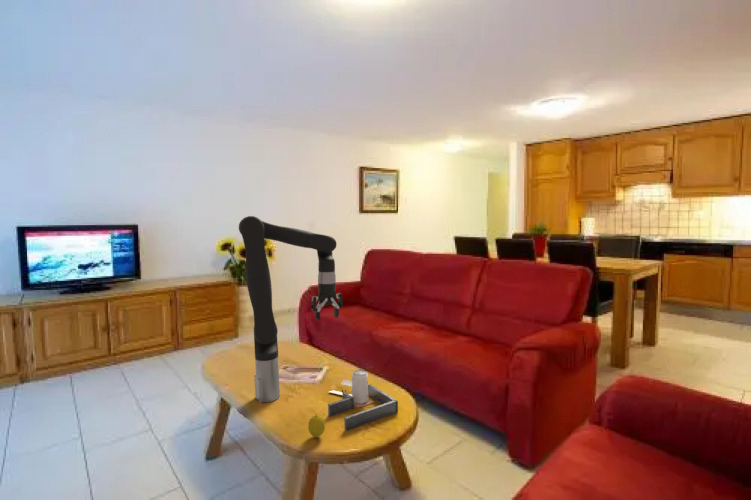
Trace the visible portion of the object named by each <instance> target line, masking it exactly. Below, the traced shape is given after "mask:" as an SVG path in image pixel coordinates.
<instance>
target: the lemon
mask: <svg viewBox="0 0 751 500" xmlns="http://www.w3.org/2000/svg"><path fill="white" fill-rule="evenodd" d="M325 425H326V424H325V419H324V417H323V416H321V415H320V414H314V415H312V416H311V418H310V419H309V421H308V427H307V428H308V431H309V434H310V435H311V436H312V437H315V438H318V437H321V436H322V435H323V434H324V432H325V428H326V426H325Z"/></svg>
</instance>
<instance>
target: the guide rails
mask: <svg viewBox="0 0 751 500" xmlns="http://www.w3.org/2000/svg"><path fill="white" fill-rule="evenodd" d="M349 394H350V393H348V392H347V391H346V392H345V391H343V395H342V399H341V400H337V401H334V402H331V403H330V402H329V403H327V409H328V410H327V411H328V417H329V418H332V417H334V416H337V415H340V414H343V413H346V412H349V411H351V410H354V409H355V406H354V398H353V397H352V396H350V395H349ZM368 397H369V398H371V399H372V400H373V399H374V400H375V401H376V400H377V402H378V403H379V402H380V403H379V404H380V405H376V406H374V407H371V408H368V409H365V410H362V411H359V412H357V413H354V414H351V415H347V416H345V417H344V418H343V419H344V431H345V432H348V431H350V430H351V431H352V430H354V429H356V428H358V427H362V426H365V425H367V424H371V423H373V422H375V421H379V420H380V419H383V418H385V417H389V416H392V415H394V414H397V413H399V400H397V399H396V398H394V397H393V396H390V394H388V393H386V392H384V391H383V390H381V389H379V388H378V387H376V386H375V385H373V384H371V383H368Z"/></svg>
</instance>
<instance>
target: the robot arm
mask: <svg viewBox="0 0 751 500" xmlns="http://www.w3.org/2000/svg"><path fill="white" fill-rule="evenodd" d="M238 231H239V234H240V235H241V238H242V240H243V244H244V245H243V246H244V249H245V250H244V251H245V278H246V285H247V286H246V287H247V290H248V291H247V292H248V296H249V300H250V303H251V304H250V305H251V306H252V311H253V324H254V325H253V341H254V359H255V361H254V362H255V366H254V367H255V375H254V395H255V397H256V400H257V401H258V402H259V403H260V402H261V403H271V402H274V401H276V400H278V399H279V398H280V396H281V393H280V392H281V390H280V389H281V388H280V370H279V369H280V367H279V347H278V346H279V345H278V331H279V330H278V327H277V323H276V321H275V317H274V312H273V310H274V309H273V294H272V293H273V291H272V290H273V289H272V280H271V272H270V268H269V267H270V266H269V262H268V258H267V254H266V249H265V248H266V247H265V246H266V245H265V244H266V243H265V240H272V241H276V242H280V243H283V244H287V245H292V246H295V247H301V248H305V249H312V250H316V252H317V259H318V263H317V264H318V274H317V292H318V293H317V294H318V295H317V296H314V295H312V296H310V297H311V298H310V300H311V301H310V310H312V311H313V312H314V313H315V314H314V315H315V320H317V321H321V310H322V308H323V307H325V306H331V305H332V306H333V308H334V309H333V317H334V318H336V319H337V318H339V316H340V309H341V308H343V307H344V301H343V299H344V298H343V294H342V293H340V292H338V293H336V292H337V291H336V290H337V288H336V287H337V284H336V283H337V281H336V264H335V263H336V262H335V259H334V257H333V251H335V250H336V248H337V240H336V238H334V237H333V236H331V235H325V234H320V233H315V232H312V231H310V230H309V231H308V230H304V229H299V228H294V227H288V226H283V225H282V226H281V225H276V224H272V223H269V222H266V221H263V220H261V219H260V218H259V217H257V216H254V215H249V216H246V217H245V216H244V217H243V218H242V219H241V220H240V222H239V223H238ZM336 299H337V301H336ZM317 302H318V303H317Z"/></svg>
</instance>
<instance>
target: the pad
mask: <svg viewBox="0 0 751 500" xmlns="http://www.w3.org/2000/svg"><path fill="white" fill-rule="evenodd" d="M375 403H376V402H375V401H374V400H373V399H372V398H371V397H368V401H367V402H366V403H364V404H356V403H354V408H355V407H356V409H360V408H362V407H365V406H369V405H371V404H375Z"/></svg>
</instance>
